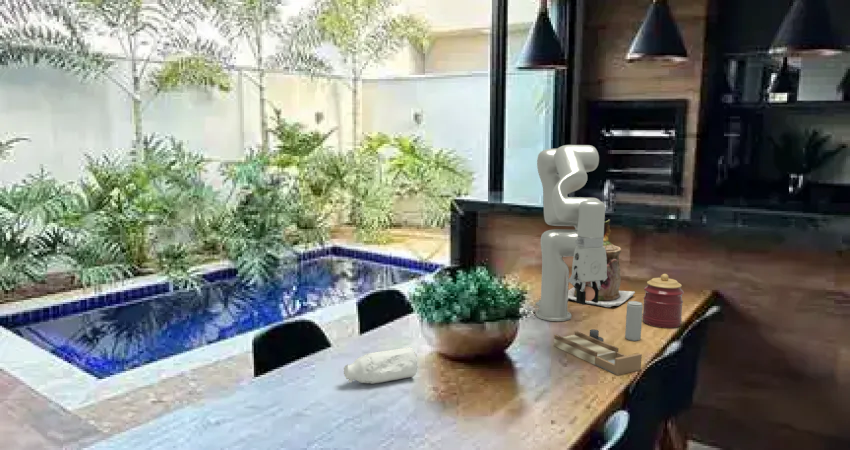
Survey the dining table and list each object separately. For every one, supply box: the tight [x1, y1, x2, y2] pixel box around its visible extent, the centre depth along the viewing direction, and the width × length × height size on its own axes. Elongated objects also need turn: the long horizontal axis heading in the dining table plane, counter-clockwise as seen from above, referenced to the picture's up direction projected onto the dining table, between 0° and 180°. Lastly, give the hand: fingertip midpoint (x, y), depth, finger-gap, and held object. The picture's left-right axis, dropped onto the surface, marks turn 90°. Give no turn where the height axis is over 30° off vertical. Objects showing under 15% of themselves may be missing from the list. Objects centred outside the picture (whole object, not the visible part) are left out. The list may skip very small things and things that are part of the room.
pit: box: [594, 351, 643, 376], centre depth 183 cm, size 9×9×4 cm
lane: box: [553, 330, 619, 366], centre depth 195 cm, size 18×9×4 cm, turn 28°
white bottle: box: [343, 346, 419, 385], centre depth 171 cm, size 8×19×8 cm, turn 116°
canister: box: [642, 273, 685, 329], centre depth 225 cm, size 13×13×18 cm
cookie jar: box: [568, 219, 636, 308], centre depth 257 cm, size 25×25×32 cm
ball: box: [584, 286, 595, 301], centre depth 193 cm, size 4×4×4 cm
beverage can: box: [624, 300, 644, 342], centre depth 208 cm, size 5×5×12 cm
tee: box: [589, 328, 604, 342], centre depth 207 cm, size 6×6×3 cm
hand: (587, 302), depth 193 cm, fingers closed on ball, 4 cm apart
